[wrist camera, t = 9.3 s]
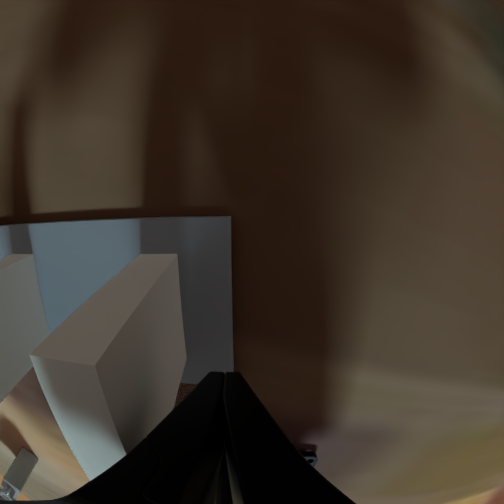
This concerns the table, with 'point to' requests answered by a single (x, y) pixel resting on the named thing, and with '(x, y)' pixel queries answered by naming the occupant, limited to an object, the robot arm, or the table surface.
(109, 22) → the table surface
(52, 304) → the runner
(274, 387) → the table surface
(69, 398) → the tile
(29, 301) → the tile
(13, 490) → the lighter
